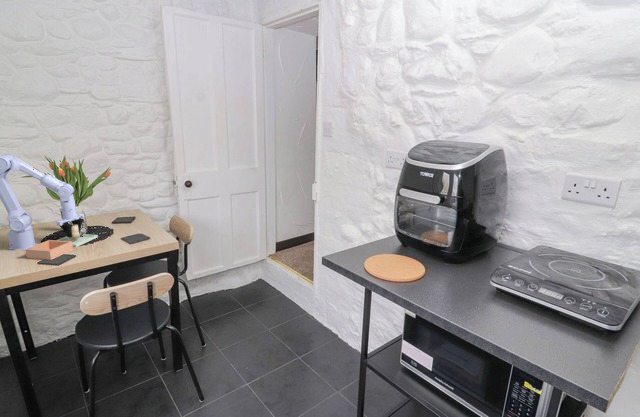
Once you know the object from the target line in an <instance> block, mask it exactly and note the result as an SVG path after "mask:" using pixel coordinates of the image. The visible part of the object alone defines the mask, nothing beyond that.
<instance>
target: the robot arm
mask: <svg viewBox="0 0 640 417" xmlns="http://www.w3.org/2000/svg"><path fill="white" fill-rule="evenodd" d="M33 169H34V170H33ZM10 171H14V172H16V171H18V172H19V171H20V172H22V173H24V174H26V175H28V176H30V177H31V178H34V179H36V180H38V181H39V182H40V185H42V186H43V187H45V188H47V189H48V190H51V191H53V192H54V193H56V195H57V196H58V197H59V202H60V207H61V208H62V214H63V219H62V218H61V219H60V220H57V221H56V223H55V224H56V226H58V227H60V228H61V229H62V231H63V232H64V234H65V237H66V236H67V237H72V224H77V225H78V228H79V234H81V232H82V231H81V228H82V225H83V223H84V218H85V214H84V213H81V214H80V213H77V212H78V211H77V207H76V201H75V197H74V192H75V189H74V187H73V186H72V185H71V184H70V183H66V181H62V180H60V179H58V178H57V177H56V176H55V175H54V174H52V175H51V174H44V173H43V172H41V171H39V170H38V169H37V168H35V167H33V166H32V165H30V164H28V163H27V162H25V161H23V160H22V159H21V158H19V157H16V156H15V155H13V154H10V153H6V154H5V153H4V154H3V155H0V200H1V202H2V204H3V206H4V208H5V210H6V212H7V220H8V227H9V229H10V230H9V231H8V233H7V240H8V244H9V248H8V250H12V251H13V250H14V251H16V250H19V251H20V250H21V251H25V249H28V248H30V247H33V246H35V245H38V244H40V243H37V242H36V241H35V235H34V230H33V226H32V222H33V218H32V216H31V215H30V214H28V213H27V212H26V209H23V208H22V206H21V205H20V202H19V200H18V199H17V197H16V194H15V193H14V191H13V188H12V187H11V184H10V183H9V181H8V178H7V177H6V176H7V175H8V174H9V173H10ZM78 214H79V215H78ZM68 222H72V224H69V223H68Z"/></svg>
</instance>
